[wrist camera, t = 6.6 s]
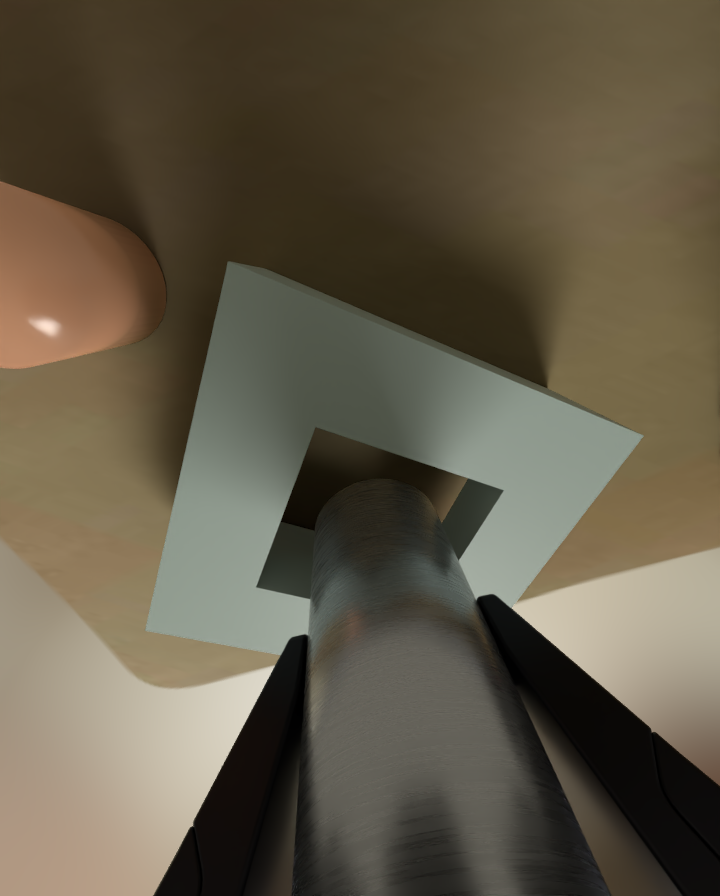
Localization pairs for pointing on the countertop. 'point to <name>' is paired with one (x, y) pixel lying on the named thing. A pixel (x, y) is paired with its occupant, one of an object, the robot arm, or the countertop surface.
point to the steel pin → (418, 725)
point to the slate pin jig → (367, 421)
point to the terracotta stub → (70, 282)
